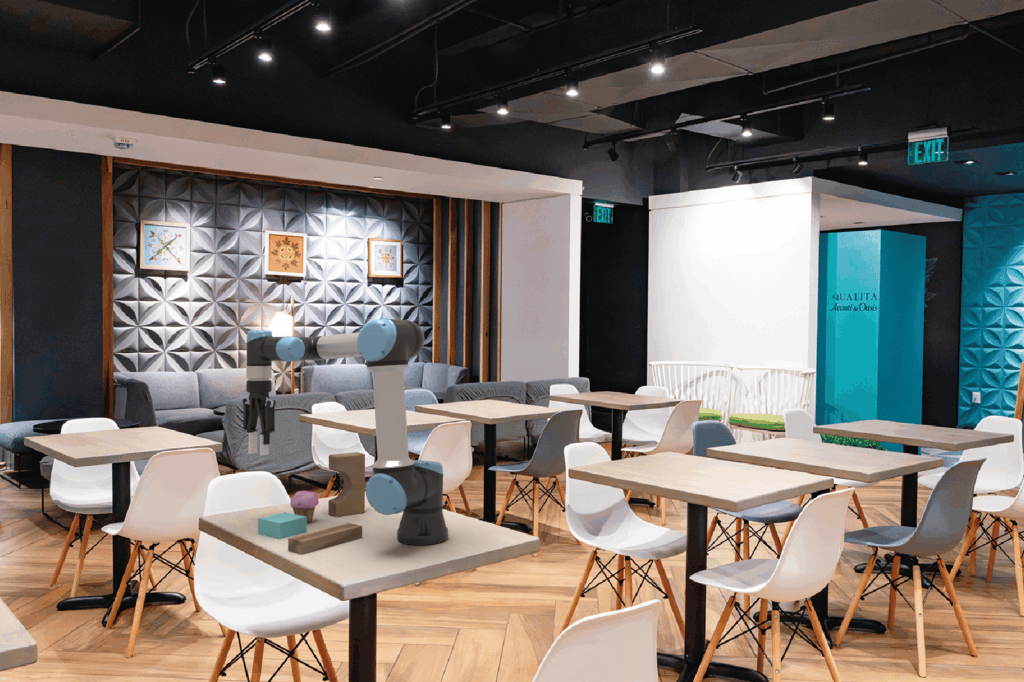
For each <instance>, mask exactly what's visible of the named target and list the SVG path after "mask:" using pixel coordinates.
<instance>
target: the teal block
mask: <svg viewBox="0 0 1024 682" xmlns="http://www.w3.org/2000/svg"><path fill="white" fill-rule="evenodd" d="M307 527H308V523H307V517H305V516H300V515H296V514H294V513H290V512H287V511H286V512H281V513H280V512H279V513H276V514H271V515H268V516H267V515H266V516H263V517H258V518H257V534H258V535H260V536H264V535H265V536H264V537H268V536H269V538H272V537H274V538H273V539H276V538H277V539H276V540H283V539H286V537H287V538H291V537H295V536H298V535H302V534H306V533H308V532H307ZM282 538H283V539H282Z"/></svg>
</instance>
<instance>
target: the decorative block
mask: <svg viewBox="0 0 1024 682" xmlns="http://www.w3.org/2000/svg"><path fill="white" fill-rule="evenodd" d="M328 470H330V471H333V472H337V473H339V474H340V475H341V477H342V478H343V487H342V489H341V491H340V493H339V494H338V495H337V496H335V497H334V498H331V499H329V500H328V502H327V503H328V505H327V506H328V507H327V508H328V509H327V511H328V515H329V514H330V516H333V517H335V518H339V517H344V516H345V515H346V516H351V515H352V514H353V515H359V514H364V513H365V512H366V509H365V508H366V505H365V504H366V503H365V502H366V500H365V499H366V498H365V497H366V454H365V453H363V452H358V451H356V452H355V451H354V452H353V451H352V452H344V453H343V452H342V453H334V454H333V453H332V454H329V455H328ZM346 516H345V517H346Z"/></svg>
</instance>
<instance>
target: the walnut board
mask: <svg viewBox="0 0 1024 682" xmlns="http://www.w3.org/2000/svg"><path fill="white" fill-rule="evenodd" d="M362 538H363V525H360V524H355V523H352V522H351V523H350V522H346V523H343V524H338V525H335V526H331V527H326V528H322V529H319V530H315V531H311V532H306V533H302V534H298V535H294V536H290V537H287V551H288V550H289V551H288V552H291V551H292V553H296V554H299V555H305V554H309V553H312V552H315V551H319V550H322V549H327V548H331V547H334V546H337V545H342V544H345V543H347V542H351V541H355V540H359V539H362Z"/></svg>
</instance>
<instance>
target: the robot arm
mask: <svg viewBox="0 0 1024 682" xmlns="http://www.w3.org/2000/svg"><path fill="white" fill-rule="evenodd" d="M424 334H425V333H424V332H423V330H422V328H421V327H420V325H418V324H417V323H416V322H414V321H411V320H408V319H396V318H395V319H394V318H378V319H372V320H369V321H368V322H366V323H364V325H363V326H362V327H361V329H360V330H359V331H357V332H350V333H349V332H348V333H340V334H327V335H318V336H316V335H315V336H273V332H272V331H271V330H267V329H266V330H265V329H263V330H259V329H257V330H256V329H253V330H252V329H251V330H248V331H247V334H246V341H245V345H246V366H245V367H246V371H245V372H246V376H245V377H246V379H247V380H246V387H245V388H246V389H245V390H246V392H247V393H249V394H248V397H247V398H242V403H243V417H242V419H243V420H242V422H243V424H242V425H243V426H242V429H243V430H244V431H246V432H247V443H248V449H247V450H248V452H247V453H248V454H249V455H252V454H258V429H257V424H258V418H259V420H260V421H259V422H260V428H261V432H260V433H259V456H260V457H261V456H268V455H270V442H271V441H270V437H271V436H270V435H271V434H272V433H275V431H276V426H275V425H276V424H275V423H276V421H275V419H276V418H275V417H276V416H275V413H276V412H275V409H276V408H275V407H276V400H275V399H274V400H273V399H272V400H271V398H270V393H271V392H272V391H273V387H272V385H273V382H272V380H270V379H272V377H273V376H272V372H273V371H272V370H273V369H272V366H273V361H274V362H286V363H293V362H300V361H301V362H302V361H323V360H333V359H334V360H335V359H343V358H359V357H362V358H363V359H364V360H365V361H366V369H367V370H368V371H369V372H370V373H371V374H372V384H373V385H372V387H373V399H374V401H373V402H374V417H375V418H374V419H375V434H376V435H375V436H376V452H377V459H376V461H375V462H374V464H373V465H372V476H370V478H368V481H367V482H366V483H365V497H366V499H367V502H368V504H369V505H370V506H371V507H370V508H373V509H374V511H375V512H377V513H378V514H381V515H385V516H390V515H398V514H400V513H402V516H401V519H400V522H399V525H398V529H397V531H396V540H397V541H398V542H399V543H402V544H404V545H405V544H406V545H410V546H413V545H414V546H427V545H428V546H429V545H436V544H441V543H444V542H446V541H447V540H449V529H448V527H447V523H446V521H445V516H444V512H443V509H444V508H443V503H444V502H443V501H444V500H443V498H444V497H443V496H444V470H443V469H444V467H443V464H442V463H441V462H439V461H433V460H432V461H431V460H420V459H411V458H410V457H409V455H410V454H409V441H408V427H407V425H408V424H407V423H408V422H407V408H406V394H405V377H404V376H405V375H404V372H405V371H406V370H407V368H408V367H409V360H410V359H413V358H415V357H416V356H418V355H419V354H420V353H421V352H422V350H423V348H424V345H425V335H424Z"/></svg>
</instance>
